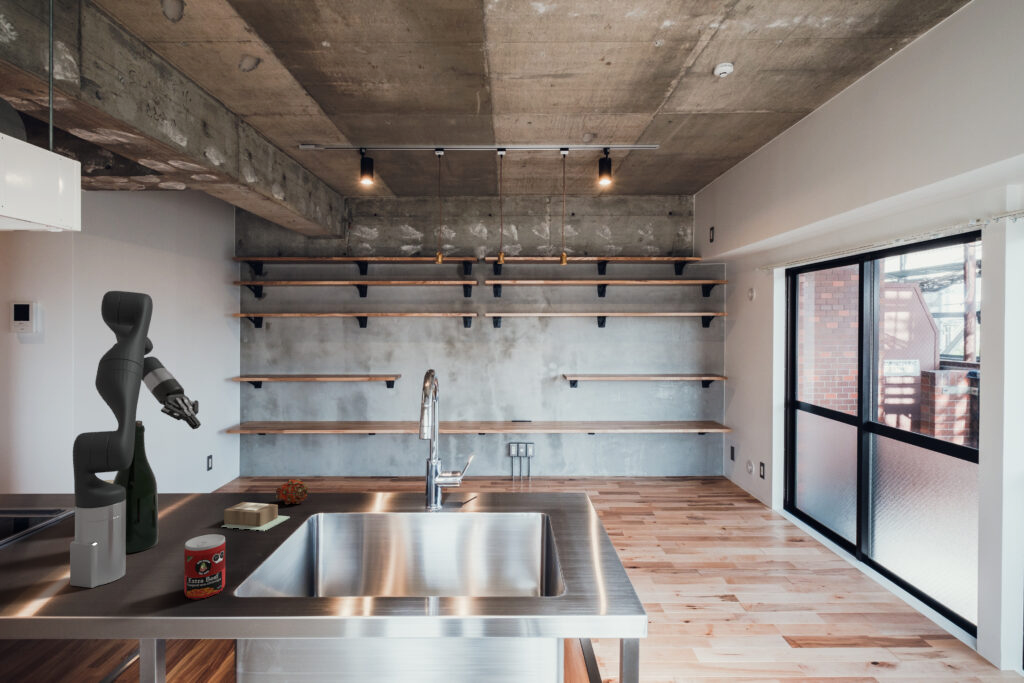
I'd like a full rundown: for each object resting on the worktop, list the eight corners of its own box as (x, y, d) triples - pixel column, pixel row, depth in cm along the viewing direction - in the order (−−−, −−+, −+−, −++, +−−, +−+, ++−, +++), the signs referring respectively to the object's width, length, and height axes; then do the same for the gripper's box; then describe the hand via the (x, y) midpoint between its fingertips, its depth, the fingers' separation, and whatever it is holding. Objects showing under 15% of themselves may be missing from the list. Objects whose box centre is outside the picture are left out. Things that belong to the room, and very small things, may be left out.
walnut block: (224, 523, 160) (260, 526, 157) (224, 508, 160) (260, 511, 157) (243, 515, 167) (277, 517, 165) (243, 501, 167) (277, 503, 165)
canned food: (181, 603, 112) (181, 549, 112) (187, 586, 120) (187, 536, 120) (223, 596, 115) (223, 544, 115) (226, 580, 123) (226, 532, 123)
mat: (264, 531, 155) (264, 529, 155) (221, 527, 158) (221, 526, 158) (289, 517, 166) (289, 516, 166) (249, 514, 169) (249, 513, 169)
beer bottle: (142, 554, 137) (143, 423, 137) (99, 555, 137) (99, 424, 137) (166, 539, 148) (167, 417, 148) (126, 540, 147) (126, 418, 147)
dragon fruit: (307, 510, 179) (278, 512, 182) (319, 489, 185) (290, 491, 189) (294, 493, 174) (264, 495, 178) (307, 472, 181) (277, 475, 185)
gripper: (152, 379, 162) (187, 421, 159) (188, 376, 175) (220, 415, 172) (137, 396, 163) (172, 439, 160) (174, 392, 176) (206, 432, 173)
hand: (197, 427), depth 166 cm, fingers closed
